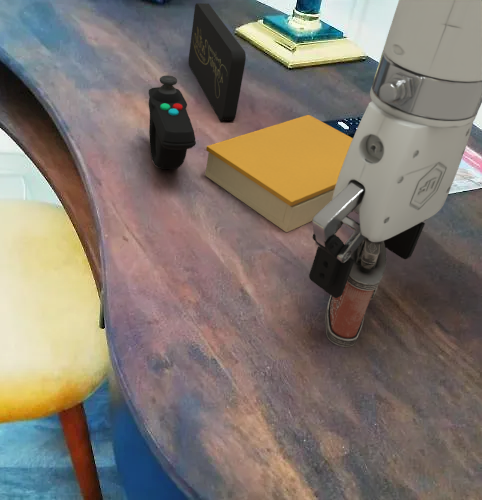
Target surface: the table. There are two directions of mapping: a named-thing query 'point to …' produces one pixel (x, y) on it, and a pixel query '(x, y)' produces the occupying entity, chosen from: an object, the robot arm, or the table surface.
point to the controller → (169, 125)
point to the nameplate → (216, 61)
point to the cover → (288, 157)
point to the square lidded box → (265, 197)
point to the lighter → (356, 294)
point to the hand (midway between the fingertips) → (360, 268)
